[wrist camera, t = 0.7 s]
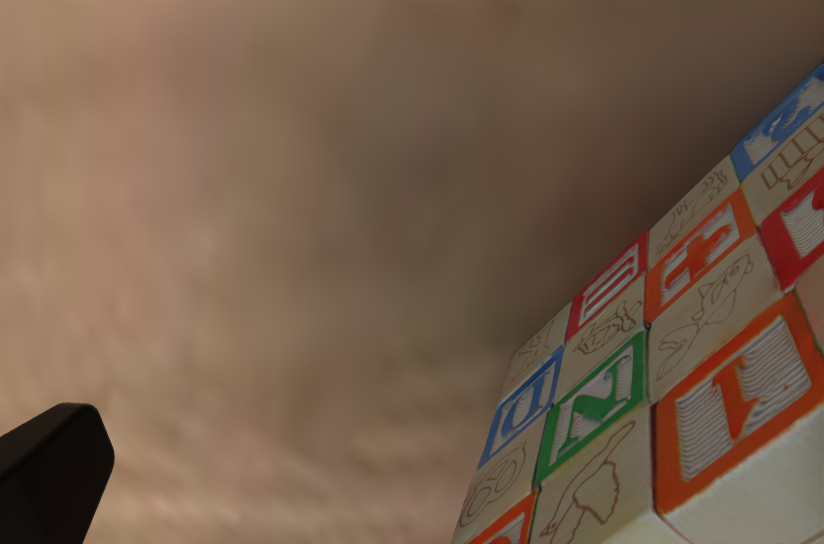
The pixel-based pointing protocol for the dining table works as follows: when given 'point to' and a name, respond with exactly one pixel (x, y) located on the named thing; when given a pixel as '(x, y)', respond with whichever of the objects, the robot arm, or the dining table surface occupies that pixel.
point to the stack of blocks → (680, 372)
